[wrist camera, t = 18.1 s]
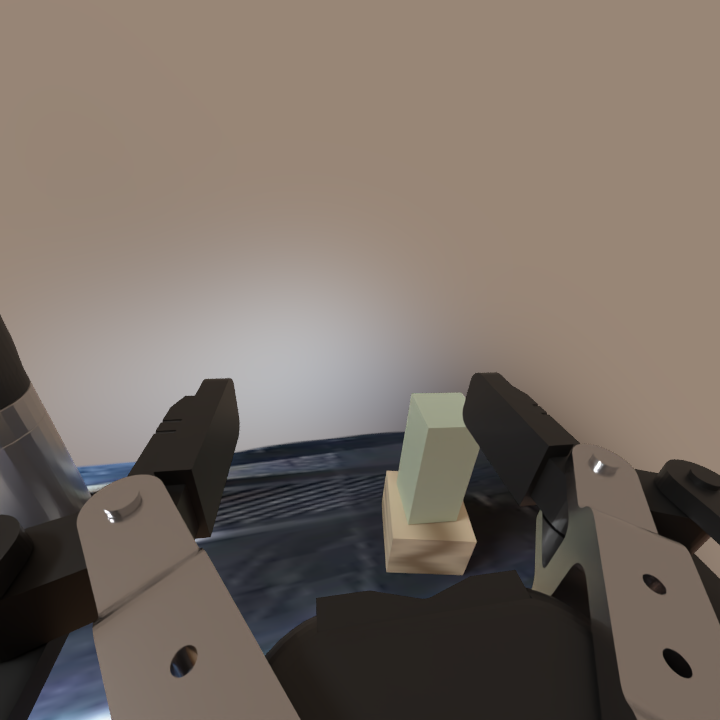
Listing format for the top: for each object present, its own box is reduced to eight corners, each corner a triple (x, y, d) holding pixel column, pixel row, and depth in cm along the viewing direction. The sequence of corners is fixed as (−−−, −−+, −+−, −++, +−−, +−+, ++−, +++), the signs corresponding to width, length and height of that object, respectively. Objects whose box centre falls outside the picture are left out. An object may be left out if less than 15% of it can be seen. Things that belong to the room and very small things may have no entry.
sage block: (408, 524, 30) (428, 428, 24) (396, 483, 34) (411, 393, 29) (456, 520, 31) (486, 426, 25) (438, 480, 35) (461, 392, 30)
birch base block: (386, 573, 32) (393, 538, 29) (381, 504, 39) (386, 470, 36) (462, 575, 32) (476, 541, 29) (444, 506, 39) (454, 474, 36)
